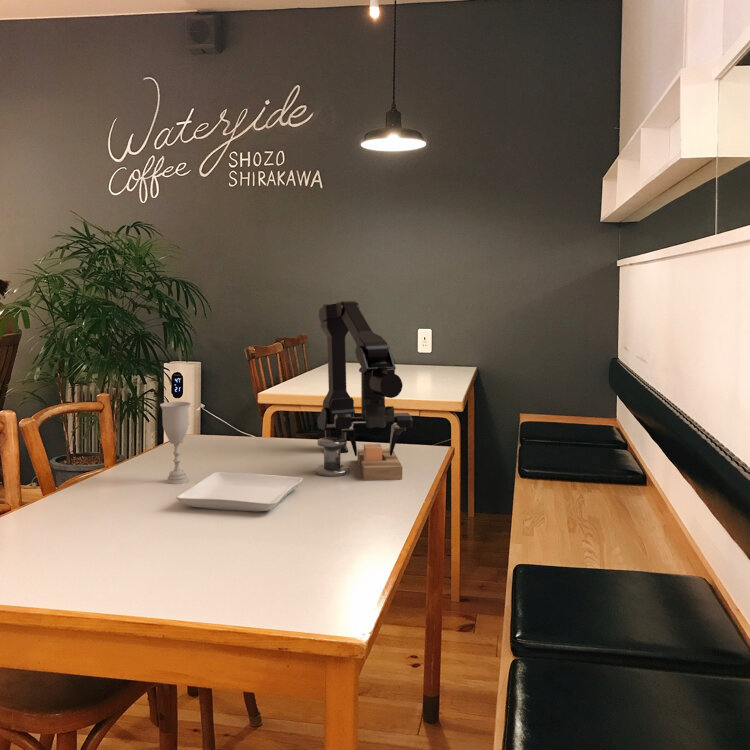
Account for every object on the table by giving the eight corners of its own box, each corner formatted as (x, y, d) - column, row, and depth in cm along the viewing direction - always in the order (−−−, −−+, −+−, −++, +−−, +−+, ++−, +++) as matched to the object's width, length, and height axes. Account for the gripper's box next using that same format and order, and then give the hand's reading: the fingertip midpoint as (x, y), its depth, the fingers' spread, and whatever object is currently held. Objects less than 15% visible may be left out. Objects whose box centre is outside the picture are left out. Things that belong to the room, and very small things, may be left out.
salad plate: (274, 518, 162) (274, 501, 161) (174, 512, 166) (173, 495, 165) (305, 491, 182) (305, 475, 182) (215, 485, 186) (215, 471, 186)
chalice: (188, 485, 185) (186, 406, 183) (158, 485, 186) (155, 406, 183) (195, 477, 193) (193, 401, 191) (167, 477, 193) (164, 401, 191)
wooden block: (363, 468, 203) (363, 444, 202) (379, 467, 203) (379, 443, 202) (365, 472, 198) (365, 448, 197) (382, 472, 198) (382, 448, 197)
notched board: (357, 460, 210) (357, 449, 210) (392, 460, 211) (392, 448, 211) (363, 480, 190) (363, 467, 190) (402, 479, 191) (402, 466, 191)
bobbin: (315, 469, 201) (315, 437, 200) (347, 468, 202) (347, 436, 201) (316, 477, 193) (315, 443, 192) (349, 476, 194) (349, 443, 193)
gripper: (336, 398, 189) (336, 464, 191) (416, 396, 191) (416, 462, 193) (334, 391, 200) (334, 453, 202) (409, 390, 202) (409, 452, 204)
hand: (373, 455), depth 200 cm, fingers open, 8 cm apart
